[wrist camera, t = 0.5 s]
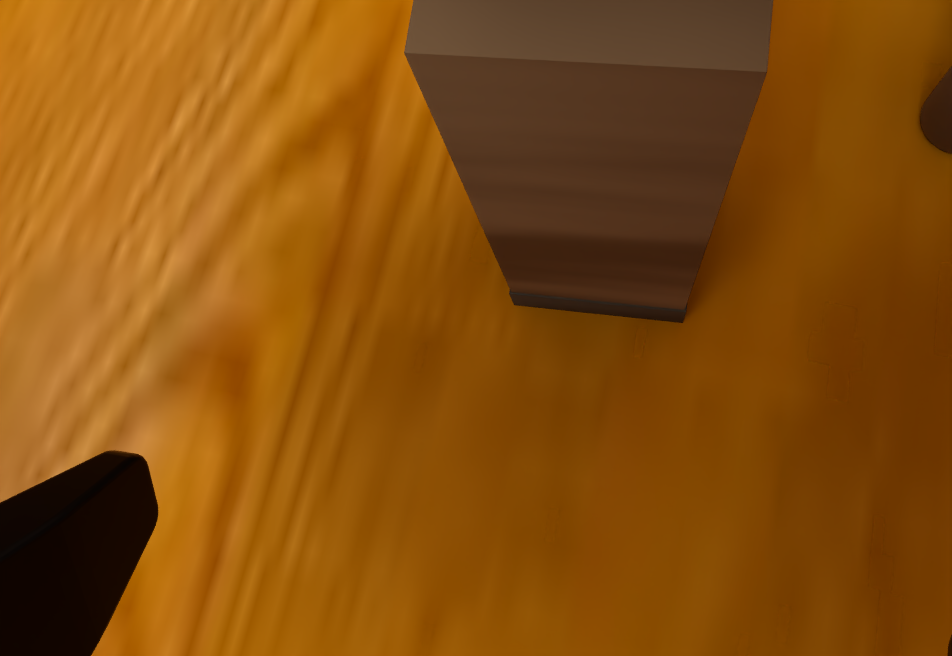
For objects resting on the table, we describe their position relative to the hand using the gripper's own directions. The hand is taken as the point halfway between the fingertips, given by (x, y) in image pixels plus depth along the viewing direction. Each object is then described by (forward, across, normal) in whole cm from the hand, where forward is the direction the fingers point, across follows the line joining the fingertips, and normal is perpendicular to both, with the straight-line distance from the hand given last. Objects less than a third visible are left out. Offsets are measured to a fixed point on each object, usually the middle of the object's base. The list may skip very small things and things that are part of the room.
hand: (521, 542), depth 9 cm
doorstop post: (+15, 0, +3) cm, 15 cm away
